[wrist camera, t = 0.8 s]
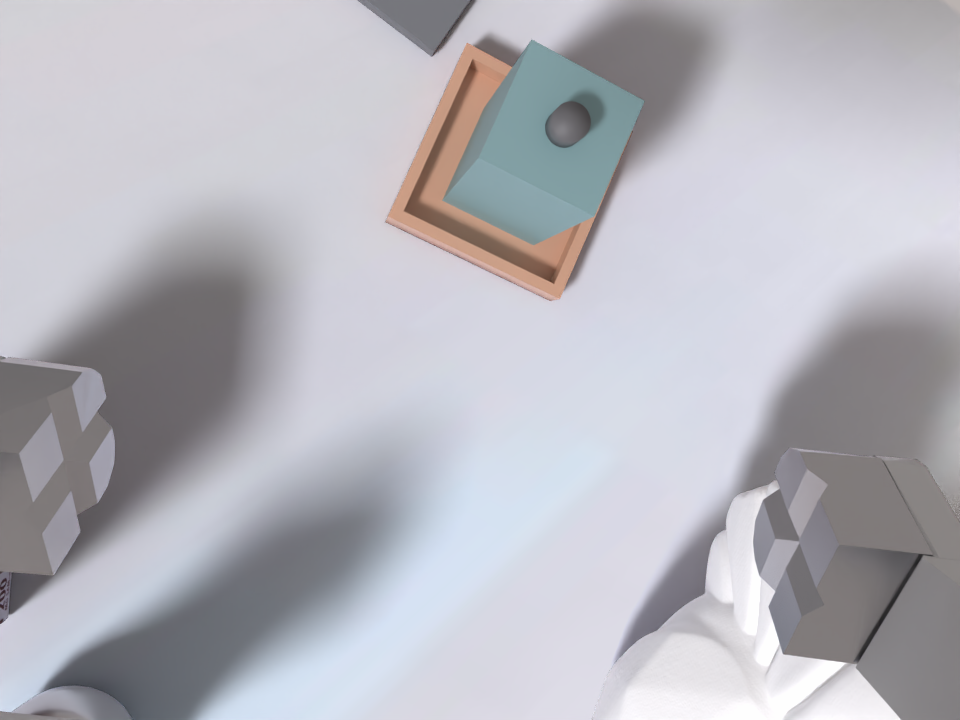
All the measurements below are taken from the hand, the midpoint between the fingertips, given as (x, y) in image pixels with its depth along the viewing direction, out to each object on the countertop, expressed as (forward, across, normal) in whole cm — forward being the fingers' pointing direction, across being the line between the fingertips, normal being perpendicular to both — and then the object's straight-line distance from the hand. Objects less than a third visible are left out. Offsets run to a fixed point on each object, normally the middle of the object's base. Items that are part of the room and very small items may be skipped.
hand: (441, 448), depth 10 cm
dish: (+35, -1, +11) cm, 37 cm away
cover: (+35, -2, +10) cm, 36 cm away
